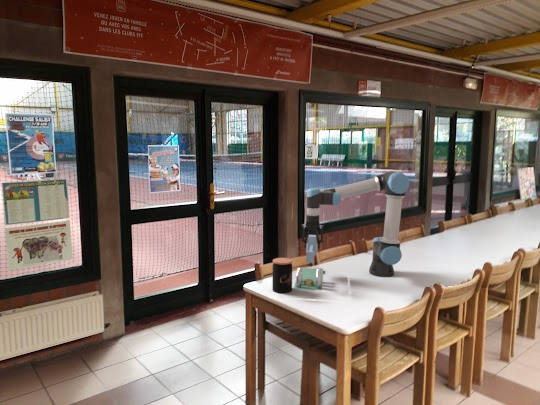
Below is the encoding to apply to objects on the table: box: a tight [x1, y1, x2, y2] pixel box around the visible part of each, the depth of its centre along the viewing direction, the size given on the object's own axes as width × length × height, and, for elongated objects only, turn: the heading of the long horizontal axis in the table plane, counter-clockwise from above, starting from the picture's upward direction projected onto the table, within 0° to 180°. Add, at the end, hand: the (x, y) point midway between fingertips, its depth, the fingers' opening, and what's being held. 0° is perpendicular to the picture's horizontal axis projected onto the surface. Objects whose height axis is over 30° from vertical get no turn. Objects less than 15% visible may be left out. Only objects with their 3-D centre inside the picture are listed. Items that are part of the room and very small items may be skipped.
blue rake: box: [305, 234, 317, 264], centre depth 240 cm, size 5×26×10 cm, turn 172°
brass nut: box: [304, 279, 314, 287], centre depth 236 cm, size 5×4×3 cm
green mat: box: [293, 267, 324, 291], centre depth 248 cm, size 16×40×1 cm, turn 172°
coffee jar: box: [272, 257, 293, 294], centre depth 226 cm, size 11×11×18 cm
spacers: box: [295, 266, 323, 289], centre depth 236 cm, size 14×13×8 cm
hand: (311, 253), depth 247 cm, fingers closed on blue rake, 5 cm apart
